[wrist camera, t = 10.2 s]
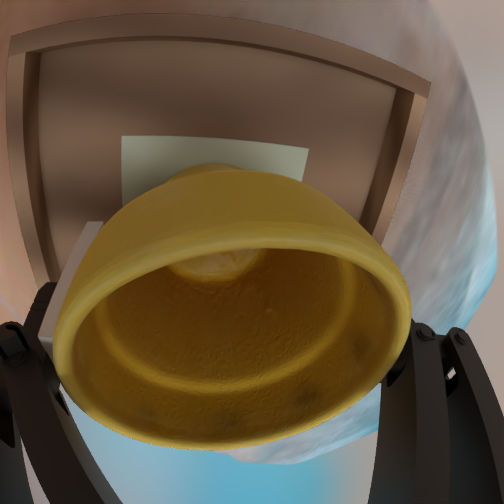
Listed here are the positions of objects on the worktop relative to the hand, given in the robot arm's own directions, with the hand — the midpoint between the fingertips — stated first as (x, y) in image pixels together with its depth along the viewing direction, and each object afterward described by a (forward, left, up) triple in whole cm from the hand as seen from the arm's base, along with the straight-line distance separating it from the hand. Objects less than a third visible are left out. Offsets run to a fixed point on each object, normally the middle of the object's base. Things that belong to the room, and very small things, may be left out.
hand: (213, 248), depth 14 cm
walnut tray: (0, 0, -3) cm, 3 cm away
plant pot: (0, 0, -2) cm, 2 cm away
